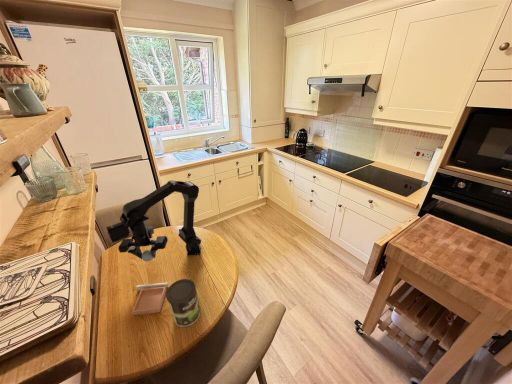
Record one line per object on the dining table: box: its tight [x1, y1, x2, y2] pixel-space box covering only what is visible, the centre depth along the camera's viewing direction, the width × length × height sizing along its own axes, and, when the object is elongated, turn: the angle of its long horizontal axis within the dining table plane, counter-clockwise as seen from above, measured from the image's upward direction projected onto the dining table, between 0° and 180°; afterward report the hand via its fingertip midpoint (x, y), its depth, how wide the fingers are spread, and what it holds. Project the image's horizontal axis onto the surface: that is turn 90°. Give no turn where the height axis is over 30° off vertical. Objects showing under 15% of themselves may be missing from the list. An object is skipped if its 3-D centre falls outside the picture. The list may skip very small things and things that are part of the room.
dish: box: [131, 287, 168, 316], centre depth 88 cm, size 10×10×2 cm
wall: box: [135, 281, 169, 292], centre depth 93 cm, size 13×1×2 cm, turn 97°
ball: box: [141, 249, 154, 262], centre depth 95 cm, size 5×5×5 cm
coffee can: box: [165, 278, 201, 328], centre depth 80 cm, size 10×10×14 cm
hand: (148, 257), depth 96 cm, fingers closed on ball, 5 cm apart
